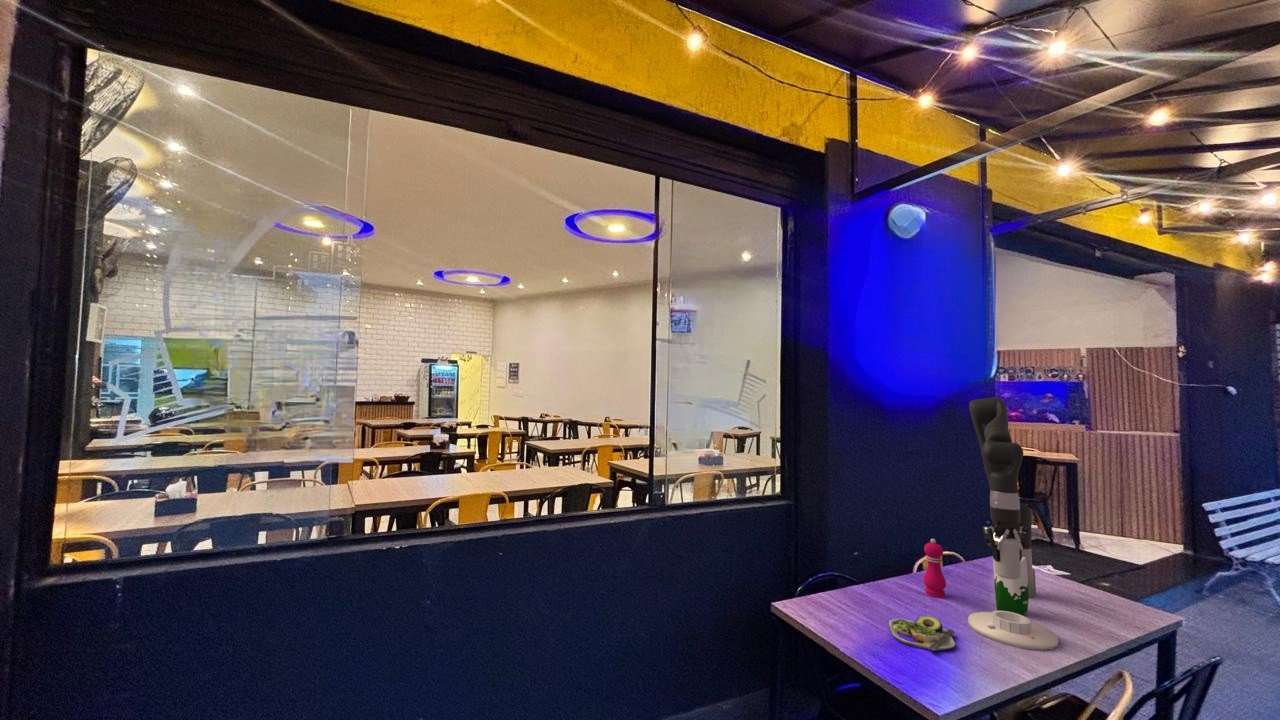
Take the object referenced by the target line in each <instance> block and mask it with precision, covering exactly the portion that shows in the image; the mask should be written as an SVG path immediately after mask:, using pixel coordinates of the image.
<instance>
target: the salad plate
mask: <svg viewBox="0 0 1280 720" xmlns="http://www.w3.org/2000/svg"><path fill="white" fill-rule="evenodd" d="M888 628H889V630H890V632H891V634H892V635H893V636H894V638H895V639H897V640H898V641H899V642H901V643H903V644H905V645H907V646H910V647H913V648H917V647H918V649H925V650H930V651H933V652H935V651H943V650H948V649H953V648H955V645H956V644H955V641H954V639H953V637H952V636H953V635H954V633H955V631H954V630H953V629H950V628H949V629H946V628H945V627H943V624H942V621H941V620H940V619H938V618H937V617H935V616H931V615H921V616H919V617H917V618H916V620H915V621H914V620H910V619H904V618H894V619H891V620H889V621H888ZM897 632H899V633H898V634H900V633H901V635H903V634H904V636H906V635H907V637H909V636H910V638H912V637H913V638H914V639H913V638H912V639H913V640H914V641H915V642H913V641H910V640H907V639H905V638H903V637H902V636H901V635H898V634H897ZM916 641H917V642H916Z"/></svg>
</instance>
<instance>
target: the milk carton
mask: <svg viewBox="0 0 1280 720" xmlns="http://www.w3.org/2000/svg"><path fill="white" fill-rule="evenodd" d="M992 561H993V578H994V579H993V580H994V596H995V606H996V611H1008V612H1013V613H1016V614H1020V615H1022V616H1025V615H1026V613H1028V609H1029V602H1030V601H1029V600H1030V598H1029V592H1028V573H1027V563H1026V558H1025V557H1022V560H1021V562H1020V574H1021V577H1020V578H1018V579H1006V578H1003V577H1000V576H998V574H996V573H995V560H994V559H993V558H992Z"/></svg>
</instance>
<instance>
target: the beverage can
mask: <svg viewBox="0 0 1280 720" xmlns="http://www.w3.org/2000/svg"><path fill="white" fill-rule="evenodd" d="M995 537H996V538H997V539H1000V537H997V536H995ZM997 543H998V541H996V540H995V545H997ZM995 573H996V574H998V576H1000V577H1003V578H1006V579H1018V578H1020V577H1021V574H1020V553H1019V542H1018V541H1017V539H1015V538H1011V539H1003V542H1000V562H997V561H995Z"/></svg>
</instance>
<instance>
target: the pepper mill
mask: <svg viewBox="0 0 1280 720" xmlns="http://www.w3.org/2000/svg"><path fill="white" fill-rule="evenodd" d="M923 549H924V553H925V560H926V561H927V568H926V571H925V573H924V575H923V578H922V579H923V584H924V585H925V586H926V587H924V593H925V594H926V595H927V596H929V597H932V598H937V599H939V598H940V599H943V597H944V598H945V597H946V591H945V590H944V589H945V588H946V587H947V582H946V581H947V580H946V577H945V576H944V574H943V572H942V568H941V563H942V561H943V560H942V556H943V554H944V551H943V550H944V549H943V547H942V546H941V545H940V544H938V543H937V541H936V539H935V538H931V539H930V542H927V543H926V544H925V545H924V548H923Z"/></svg>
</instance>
